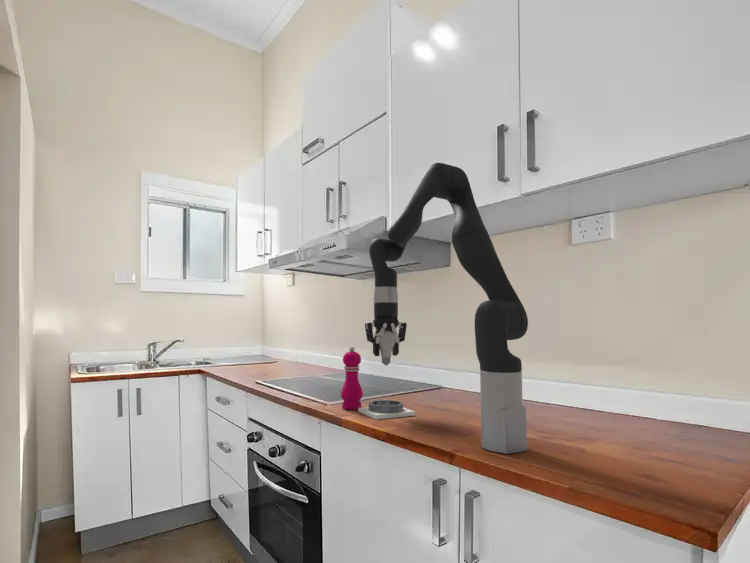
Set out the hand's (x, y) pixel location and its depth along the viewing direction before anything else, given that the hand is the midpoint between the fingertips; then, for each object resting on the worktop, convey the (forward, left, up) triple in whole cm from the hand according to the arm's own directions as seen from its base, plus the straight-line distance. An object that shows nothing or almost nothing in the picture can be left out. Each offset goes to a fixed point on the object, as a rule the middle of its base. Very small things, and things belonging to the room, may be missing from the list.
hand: (386, 355), depth 145 cm
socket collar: (0, 0, -17) cm, 17 cm away
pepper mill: (+13, +6, -18) cm, 23 cm away
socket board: (0, 0, -18) cm, 18 cm away
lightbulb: (0, 0, -3) cm, 3 cm away
